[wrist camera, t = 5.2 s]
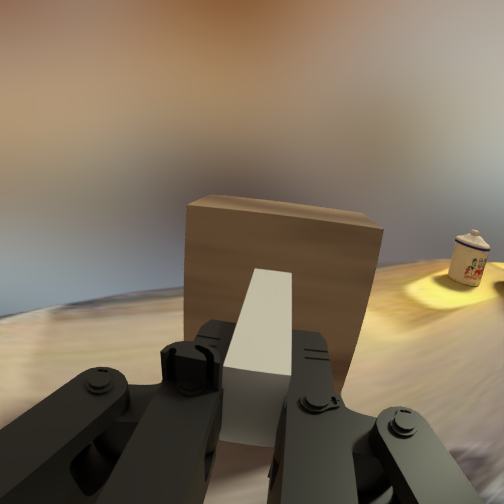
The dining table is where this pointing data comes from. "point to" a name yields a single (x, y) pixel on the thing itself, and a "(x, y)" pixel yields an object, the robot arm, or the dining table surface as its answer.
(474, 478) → the dining table surface
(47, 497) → the robot arm
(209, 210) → the walnut slab
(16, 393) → the dining table surface
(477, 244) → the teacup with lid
